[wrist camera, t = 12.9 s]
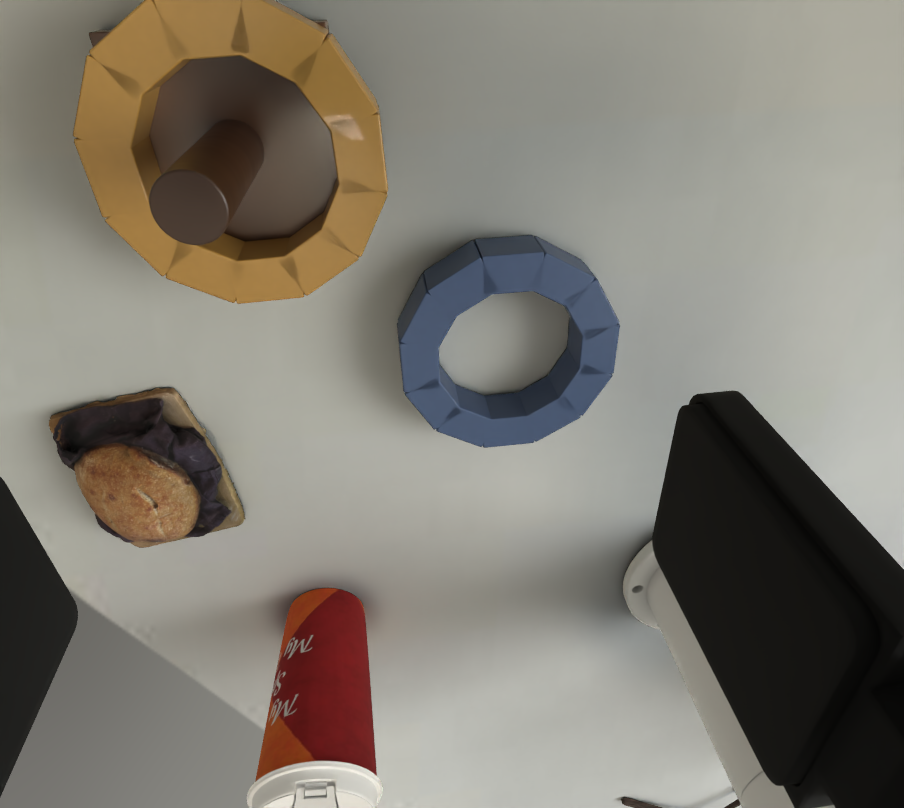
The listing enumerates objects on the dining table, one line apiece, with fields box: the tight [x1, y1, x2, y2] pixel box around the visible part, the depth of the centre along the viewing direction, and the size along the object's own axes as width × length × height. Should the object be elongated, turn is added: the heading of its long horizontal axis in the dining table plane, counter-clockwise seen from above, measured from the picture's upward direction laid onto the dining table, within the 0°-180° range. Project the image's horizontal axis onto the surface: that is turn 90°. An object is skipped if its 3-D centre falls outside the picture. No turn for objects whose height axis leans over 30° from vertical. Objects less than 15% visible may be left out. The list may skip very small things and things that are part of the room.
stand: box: [89, 20, 337, 245], centre depth 24 cm, size 9×9×10 cm
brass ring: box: [73, 0, 388, 304], centre depth 26 cm, size 12×12×2 cm
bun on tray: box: [49, 388, 245, 548], centre depth 36 cm, size 11×8×4 cm
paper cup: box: [247, 588, 383, 808], centre depth 41 cm, size 8×8×14 cm
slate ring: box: [397, 235, 620, 448], centre depth 34 cm, size 12×12×2 cm
